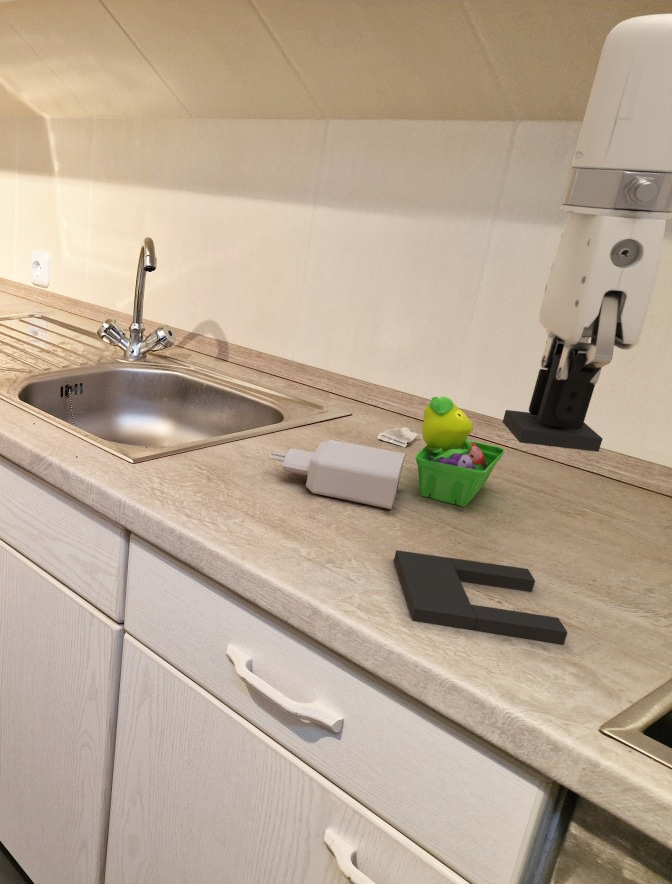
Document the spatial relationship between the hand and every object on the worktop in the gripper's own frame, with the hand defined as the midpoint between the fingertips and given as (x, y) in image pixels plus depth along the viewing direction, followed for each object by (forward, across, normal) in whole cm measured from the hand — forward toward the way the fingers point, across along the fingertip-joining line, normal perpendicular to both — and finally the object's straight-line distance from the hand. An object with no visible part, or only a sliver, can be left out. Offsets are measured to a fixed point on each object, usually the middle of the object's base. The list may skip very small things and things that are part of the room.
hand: (554, 419), depth 73 cm
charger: (+17, +23, +14) cm, 32 cm away
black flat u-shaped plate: (+17, -2, +3) cm, 18 cm away
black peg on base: (+2, 0, 0) cm, 2 cm away
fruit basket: (+17, +27, 0) cm, 32 cm away
